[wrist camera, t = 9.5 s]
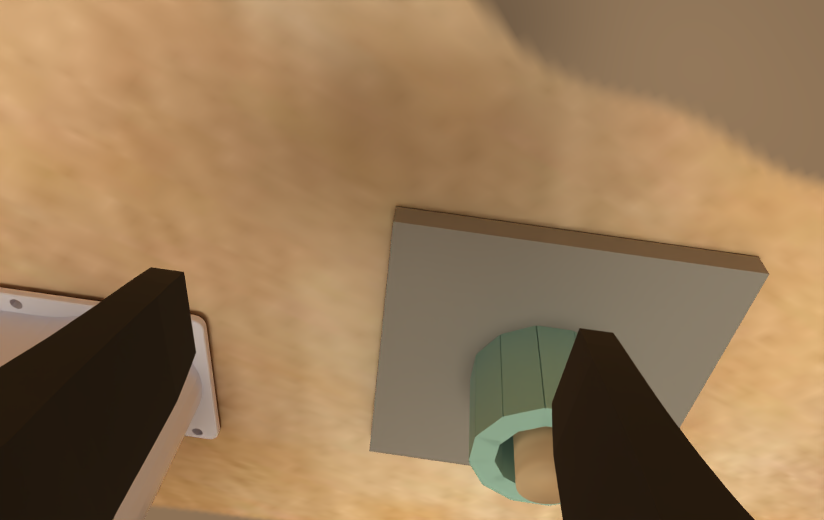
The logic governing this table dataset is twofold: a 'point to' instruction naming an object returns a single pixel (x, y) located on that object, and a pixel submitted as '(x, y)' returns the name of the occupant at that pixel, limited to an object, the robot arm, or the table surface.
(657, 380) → the grey board
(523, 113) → the table surface
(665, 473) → the robot arm
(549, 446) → the beech post
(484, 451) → the green ring
